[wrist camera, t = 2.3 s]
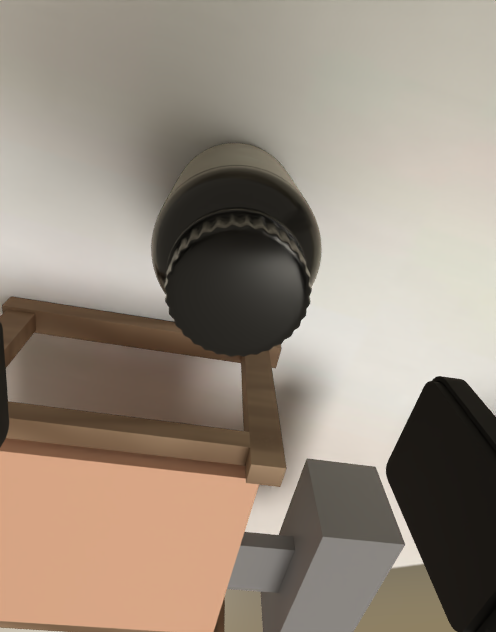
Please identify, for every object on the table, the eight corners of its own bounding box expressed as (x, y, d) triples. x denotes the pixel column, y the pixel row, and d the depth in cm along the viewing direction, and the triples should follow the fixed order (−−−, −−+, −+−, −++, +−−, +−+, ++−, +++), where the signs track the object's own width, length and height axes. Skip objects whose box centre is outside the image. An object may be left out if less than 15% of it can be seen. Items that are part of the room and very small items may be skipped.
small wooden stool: (11, 296, 26) (-115, 418, 17) (279, 338, 29) (304, 467, 19) (23, 488, 35) (-57, 645, 25) (232, 510, 37) (232, 661, 27)
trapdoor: (-24, 403, 21) (-86, 480, 17) (381, 454, 23) (413, 530, 19) (-4, 572, 27) (-44, 657, 23) (312, 597, 30) (325, 677, 26)
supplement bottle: (289, 262, 26) (330, 382, 16) (177, 260, 26) (141, 381, 15) (299, 142, 23) (359, 191, 12) (171, 139, 23) (119, 186, 12)
